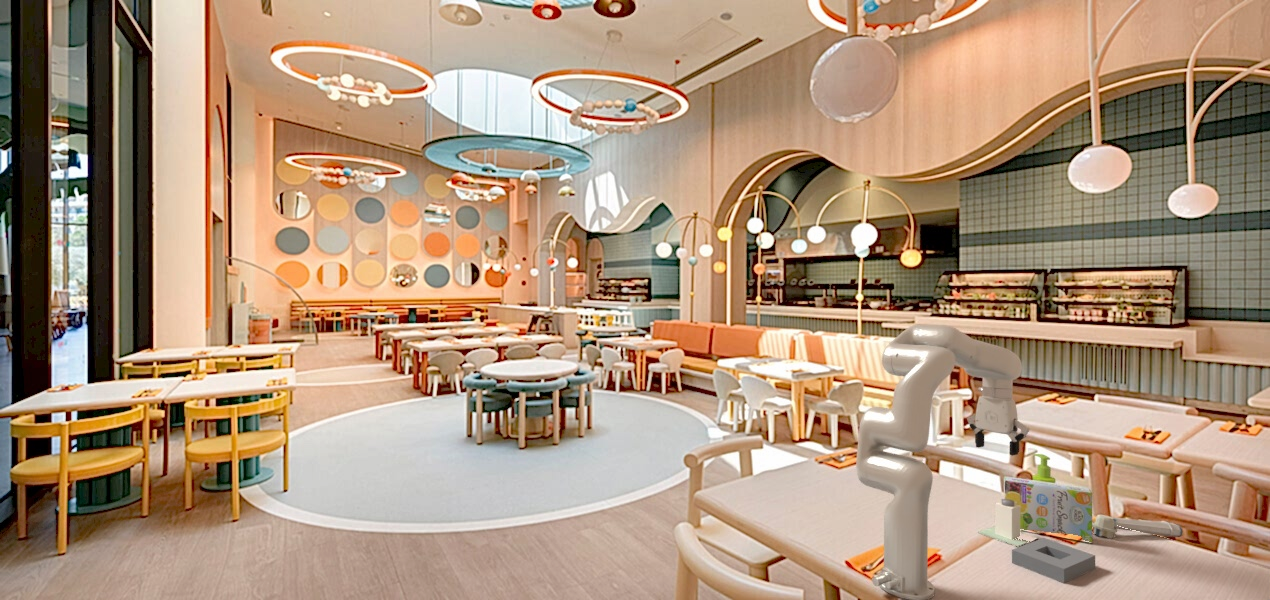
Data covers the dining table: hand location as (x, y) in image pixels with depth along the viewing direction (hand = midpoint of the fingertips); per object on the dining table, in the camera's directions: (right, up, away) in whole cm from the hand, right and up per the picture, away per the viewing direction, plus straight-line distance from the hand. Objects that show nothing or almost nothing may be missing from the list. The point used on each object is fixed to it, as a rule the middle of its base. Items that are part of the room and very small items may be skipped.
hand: (996, 450), depth 164 cm
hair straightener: (+42, -26, +1) cm, 50 cm away
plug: (+3, -25, 0) cm, 25 cm away
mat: (+3, -25, 0) cm, 26 cm away
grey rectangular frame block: (+3, -25, -19) cm, 32 cm away
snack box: (+17, -26, +2) cm, 31 cm away
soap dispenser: (+25, -26, +15) cm, 39 cm away
